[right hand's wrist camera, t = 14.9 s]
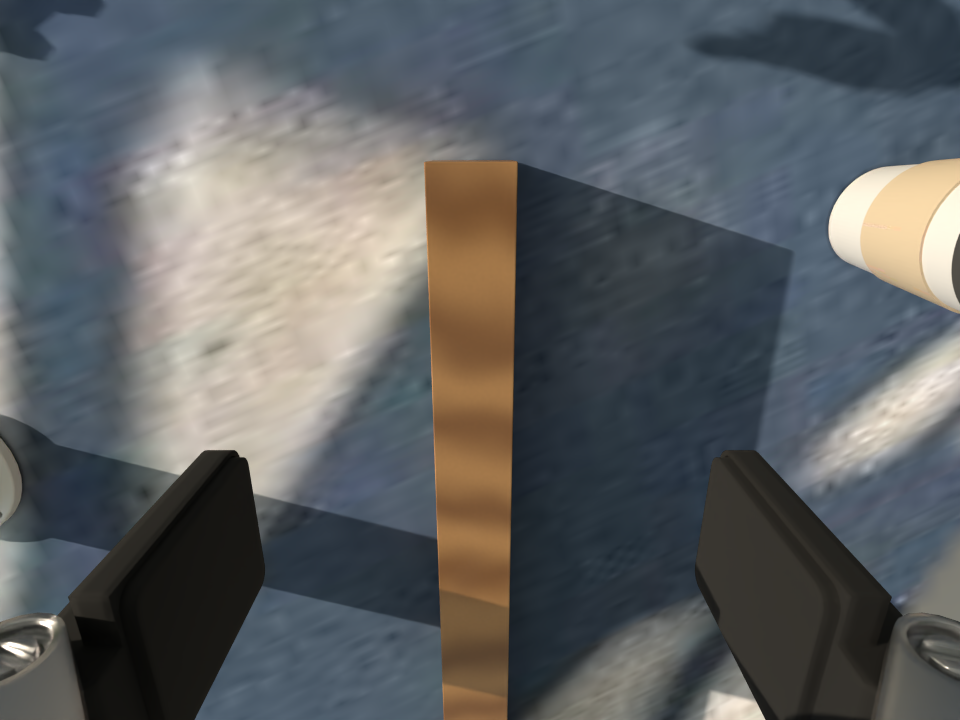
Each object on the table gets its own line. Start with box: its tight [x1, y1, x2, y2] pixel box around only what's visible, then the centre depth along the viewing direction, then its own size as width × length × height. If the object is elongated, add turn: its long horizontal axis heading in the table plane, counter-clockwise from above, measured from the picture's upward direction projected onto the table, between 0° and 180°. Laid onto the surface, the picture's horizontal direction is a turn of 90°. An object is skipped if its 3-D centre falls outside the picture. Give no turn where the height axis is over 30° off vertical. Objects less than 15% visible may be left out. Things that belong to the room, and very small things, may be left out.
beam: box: [424, 160, 518, 720], centre depth 49 cm, size 75×6×6 cm, turn 0°
